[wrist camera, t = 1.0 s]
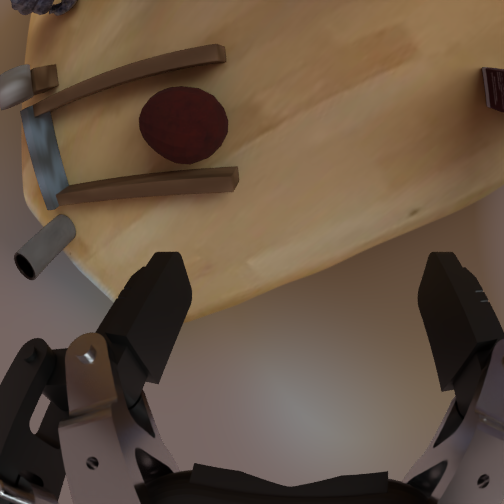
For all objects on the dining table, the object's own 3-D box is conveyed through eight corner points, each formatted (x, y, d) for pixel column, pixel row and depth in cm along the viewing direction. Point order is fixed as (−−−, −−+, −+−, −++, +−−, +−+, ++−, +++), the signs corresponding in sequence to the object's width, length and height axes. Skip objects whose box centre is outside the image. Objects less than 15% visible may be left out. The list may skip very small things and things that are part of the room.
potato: (163, 77, 24) (127, 82, 18) (243, 95, 24) (225, 101, 19) (151, 142, 28) (117, 162, 23) (224, 162, 29) (203, 187, 23)
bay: (36, 72, 23) (-11, 84, 16) (220, 3, 19) (189, -20, 12) (65, 196, 34) (26, 227, 27) (239, 180, 30) (219, 218, 23)
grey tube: (76, 219, 36) (32, 261, 28) (76, 243, 39) (37, 285, 30) (55, 210, 36) (11, 248, 27) (56, 233, 38) (17, 272, 30)
